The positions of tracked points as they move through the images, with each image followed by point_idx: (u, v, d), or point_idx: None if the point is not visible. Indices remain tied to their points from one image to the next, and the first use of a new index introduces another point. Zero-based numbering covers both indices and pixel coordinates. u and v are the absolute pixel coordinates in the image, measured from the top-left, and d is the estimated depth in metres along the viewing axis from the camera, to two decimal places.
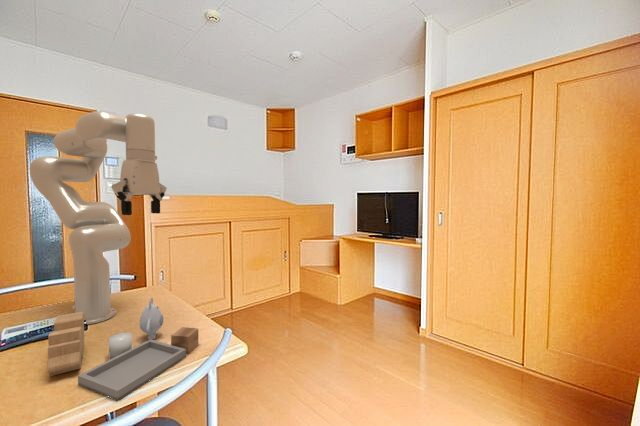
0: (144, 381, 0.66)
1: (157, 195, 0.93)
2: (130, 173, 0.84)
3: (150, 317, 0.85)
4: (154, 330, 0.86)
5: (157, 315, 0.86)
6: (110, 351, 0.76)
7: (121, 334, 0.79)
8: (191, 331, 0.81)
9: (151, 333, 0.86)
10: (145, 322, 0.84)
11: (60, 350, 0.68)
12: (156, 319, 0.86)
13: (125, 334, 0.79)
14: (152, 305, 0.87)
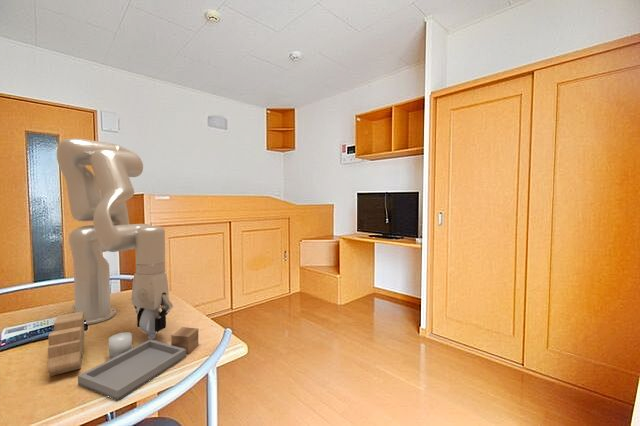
0: (144, 381, 0.66)
1: None
2: (167, 286, 0.86)
3: (150, 317, 0.85)
4: (154, 330, 0.86)
5: None
6: (110, 351, 0.76)
7: (121, 334, 0.79)
8: (191, 331, 0.81)
9: (151, 333, 0.86)
10: (145, 322, 0.84)
11: (60, 350, 0.68)
12: None
13: (125, 334, 0.79)
14: None
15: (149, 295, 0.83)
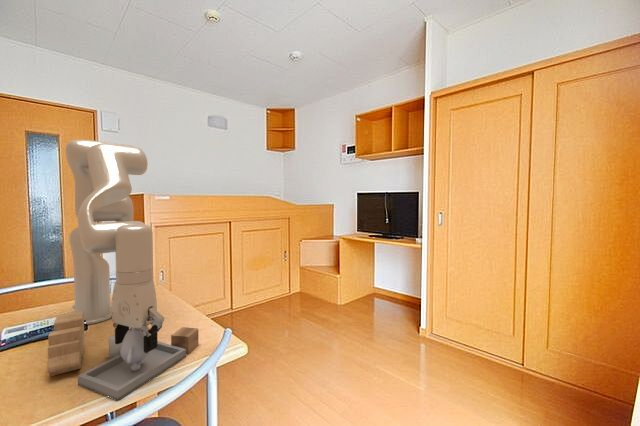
0: (144, 381, 0.66)
1: None
2: (155, 298, 0.70)
3: (133, 343, 0.69)
4: (138, 359, 0.70)
5: (142, 340, 0.70)
6: (110, 351, 0.76)
7: None
8: (191, 331, 0.81)
9: (135, 362, 0.70)
10: (127, 350, 0.68)
11: (60, 350, 0.68)
12: (140, 345, 0.70)
13: None
14: None
15: (132, 310, 0.67)
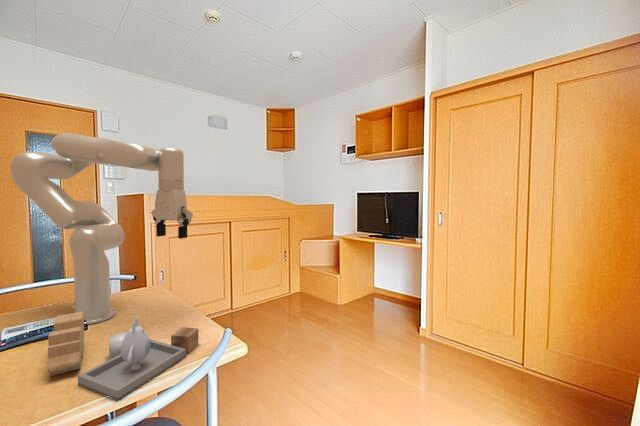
0: (144, 381, 0.66)
1: None
2: (185, 202, 0.98)
3: (134, 343, 0.69)
4: (138, 359, 0.70)
5: (142, 340, 0.70)
6: (110, 351, 0.76)
7: (121, 334, 0.79)
8: (191, 331, 0.81)
9: (135, 362, 0.70)
10: (127, 350, 0.68)
11: (60, 350, 0.68)
12: (141, 346, 0.70)
13: (125, 334, 0.79)
14: (136, 328, 0.71)
15: (170, 207, 0.95)
